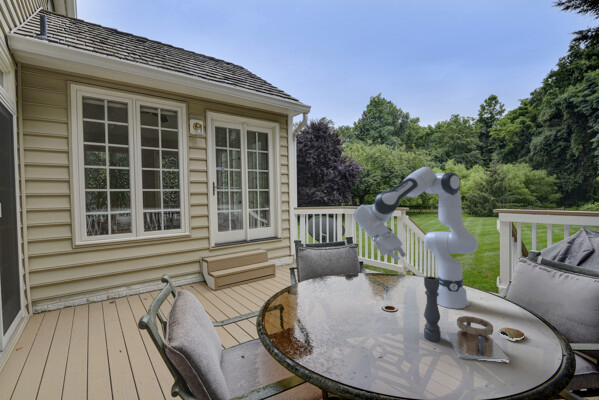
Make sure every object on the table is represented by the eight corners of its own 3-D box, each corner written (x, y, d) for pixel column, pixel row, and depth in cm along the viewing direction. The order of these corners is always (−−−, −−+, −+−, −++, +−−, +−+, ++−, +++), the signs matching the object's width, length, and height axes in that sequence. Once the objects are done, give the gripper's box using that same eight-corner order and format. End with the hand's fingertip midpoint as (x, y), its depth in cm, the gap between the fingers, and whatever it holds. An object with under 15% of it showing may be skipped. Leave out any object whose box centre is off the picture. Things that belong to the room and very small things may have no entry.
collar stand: (446, 335, 114) (445, 312, 114) (489, 339, 111) (488, 315, 111) (458, 358, 99) (458, 330, 99) (509, 363, 95) (509, 335, 95)
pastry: (513, 332, 117) (513, 323, 117) (530, 340, 110) (530, 331, 110) (496, 335, 115) (496, 326, 115) (511, 343, 108) (511, 334, 108)
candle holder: (435, 334, 116) (434, 276, 116) (443, 341, 110) (443, 280, 110) (421, 334, 116) (420, 276, 116) (428, 342, 110) (428, 280, 109)
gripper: (376, 232, 116) (399, 257, 110) (391, 227, 132) (413, 250, 126) (366, 241, 119) (388, 267, 113) (382, 236, 135) (403, 258, 129)
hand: (401, 258), depth 120 cm, fingers open, 8 cm apart
